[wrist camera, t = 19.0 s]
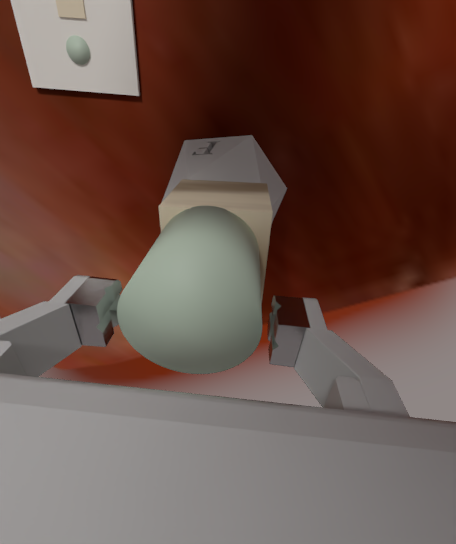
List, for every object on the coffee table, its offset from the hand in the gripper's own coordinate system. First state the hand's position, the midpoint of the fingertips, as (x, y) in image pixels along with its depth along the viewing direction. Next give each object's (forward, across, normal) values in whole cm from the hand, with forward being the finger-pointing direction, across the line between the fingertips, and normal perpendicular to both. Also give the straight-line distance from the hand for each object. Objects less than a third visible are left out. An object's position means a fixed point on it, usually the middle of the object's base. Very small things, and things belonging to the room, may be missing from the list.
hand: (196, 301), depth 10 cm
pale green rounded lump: (+4, 0, 0) cm, 4 cm away
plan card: (+16, +11, -11) cm, 22 cm away
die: (+16, 0, 0) cm, 16 cm away
